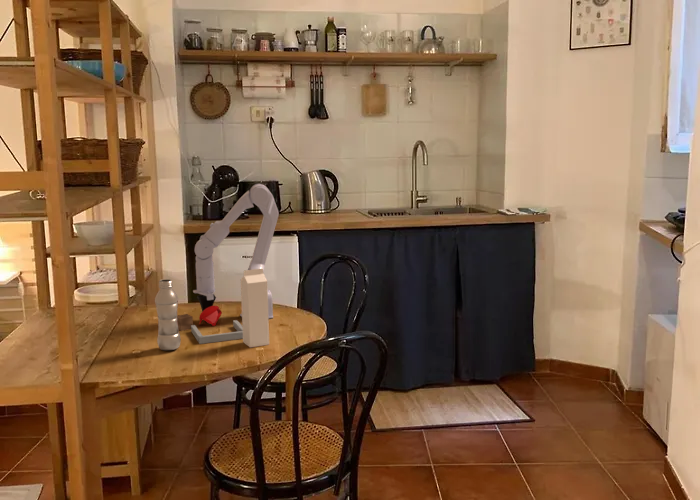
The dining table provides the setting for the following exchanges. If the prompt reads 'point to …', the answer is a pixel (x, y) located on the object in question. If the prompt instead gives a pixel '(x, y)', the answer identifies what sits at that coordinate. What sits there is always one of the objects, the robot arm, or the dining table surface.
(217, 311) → the cap
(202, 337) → the tray frame
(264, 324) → the milk
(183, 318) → the walnut block
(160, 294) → the plastic bottle
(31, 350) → the dining table surface
